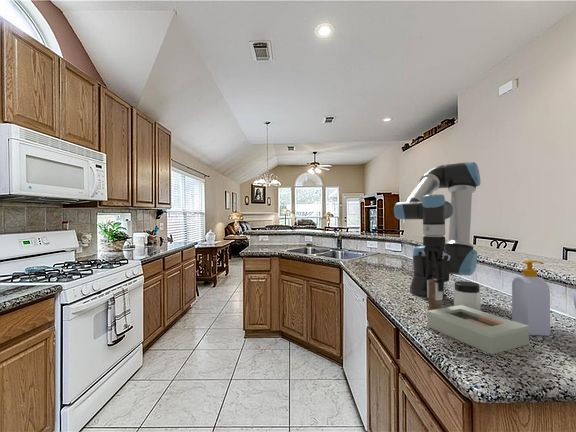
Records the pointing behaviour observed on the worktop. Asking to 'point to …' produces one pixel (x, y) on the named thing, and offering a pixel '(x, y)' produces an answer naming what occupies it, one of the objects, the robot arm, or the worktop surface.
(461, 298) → the jar
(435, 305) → the bolt peg
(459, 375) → the worktop surface
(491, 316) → the keyhole box
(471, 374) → the worktop surface
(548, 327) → the soap bottle
